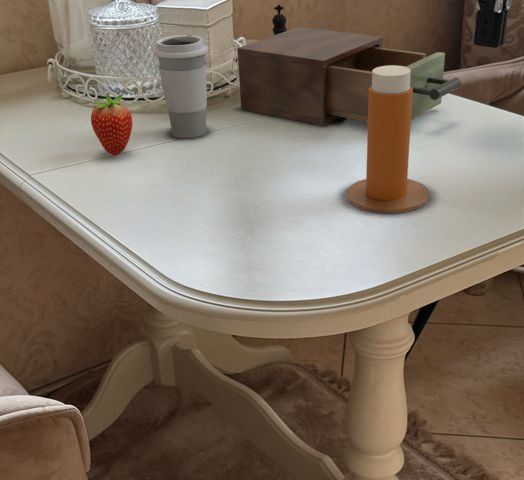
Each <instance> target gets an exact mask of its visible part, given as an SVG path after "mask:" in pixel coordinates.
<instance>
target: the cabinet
mask: <svg viewBox="0 0 524 480" xmlns="http://www.w3.org/2000/svg"><path fill="white" fill-rule="evenodd" d="M370 47H380V48H383V36H377V35H370V34H362V33H361V34H360V33H353V32H347V31H337V30H328V29H321V28H312V27H304V26H298V27H295V28H292V29H289V30H286V32H283V33H280V34H277V35H274V34H273V35H272V36H268V37H266V38H262V39H259V40H256V41H254V42H250V43H247V44H245V45H242V46H239V47H237V48H236V51H237V64H238V65H237V67H238V79H239V95H240V110H243V111H247V112H253V113H258V114H261V115H267V116H272V117H277V118H281V119H282V118H283V119H286V120H292V121H297V122H302V123H308V124H311V125H316V126H322V127H324V126H326V125H328V124H330V123H332V122H335V121H337V120H339V119H340V118H341V117H339V116H334V115H329V114H327V109H326V65H329V64H331V63H334V62H336V61H338V60H341V59H343V58H346V57H348V56H351V55H353V54H356V53H358V52H360V51H363V50H365V49H368V48H370Z"/></svg>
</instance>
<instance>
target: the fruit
mask: <svg viewBox="0 0 524 480" xmlns="http://www.w3.org/2000/svg"><path fill="white" fill-rule="evenodd" d="M111 97H112V96H110V92H109V91H107V93H106V98H105V100H106V101H102V100H101V101H100V100H95V99H93V102H94V103H96V104H97V105H93V107H94V108H93V109H92V111H91V115H90V123H91V127H92V129H93V132H94V135H95V136H96V138H97V139H98V141H99V143H100V145H101V146H102V148H103V149H104V150H105V152H106V153H108V154H109V155H110V156H115V157H117V156H119V155H120V154H121V153H122V152H124V150H125V149H126V147H127V146H128V143H129V141H130V137H131V135H132V130H133V116H132V113H131V112H130V110H129V108H128V107H127V106H125V105H124V104H123V103H125V102H126V100H124V101H121V100H122V99H123V94H119V95H117V96H116V97H115V98H114V99H112V98H111Z"/></svg>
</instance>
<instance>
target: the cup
mask: <svg viewBox="0 0 524 480" xmlns="http://www.w3.org/2000/svg"><path fill="white" fill-rule="evenodd" d="M207 53H209V48H208V46H207V44H206V43H205V41H204V38H203V37H202V36H199V35H193V34H180V35H179V34H178V35H171V36H166V37H162V38H159V39H158V40H156V47H154V49H153V55H154V56H155V57H157V58H158V63H159V65H158V71H159V75H160V81H161V86H162V91H163V97H164V102H165V107H166V110H167V113H168V118H169V123H170V130H171V134H172V136H174V138H179V139H193V138H198V137H201V136H203V135H205V134H206V133H207V106H208V105H207V104H208V102H207V101H208V99H207V98H208V97H207V96H208V95H207V63H206V54H207Z"/></svg>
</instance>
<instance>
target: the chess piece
mask: <svg viewBox="0 0 524 480" xmlns="http://www.w3.org/2000/svg"><path fill="white" fill-rule="evenodd" d="M273 9H274V10H275V11H276V12H277V14H274V15H273V17H272V19H271V21H272V24H273V28H272V32H273V36H274V35H277V34H280V33H283V32H286V31H288V30H287V29H288V28H287V27H286V24H287V17H286V16H285V15H284V14H282V13H281V11H282V10H284V9H285V7H283V6H281V4H277V5H276V6H275V7H274V8H273Z"/></svg>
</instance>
